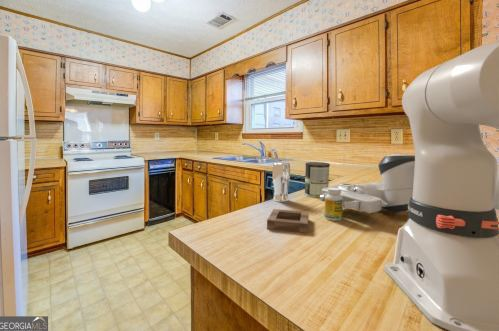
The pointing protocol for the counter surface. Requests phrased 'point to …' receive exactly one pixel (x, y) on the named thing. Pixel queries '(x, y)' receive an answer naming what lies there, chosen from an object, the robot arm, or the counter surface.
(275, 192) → the beer glass
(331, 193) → the supplement bottle
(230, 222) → the counter surface
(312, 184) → the coffee can
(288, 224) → the bottle holder
